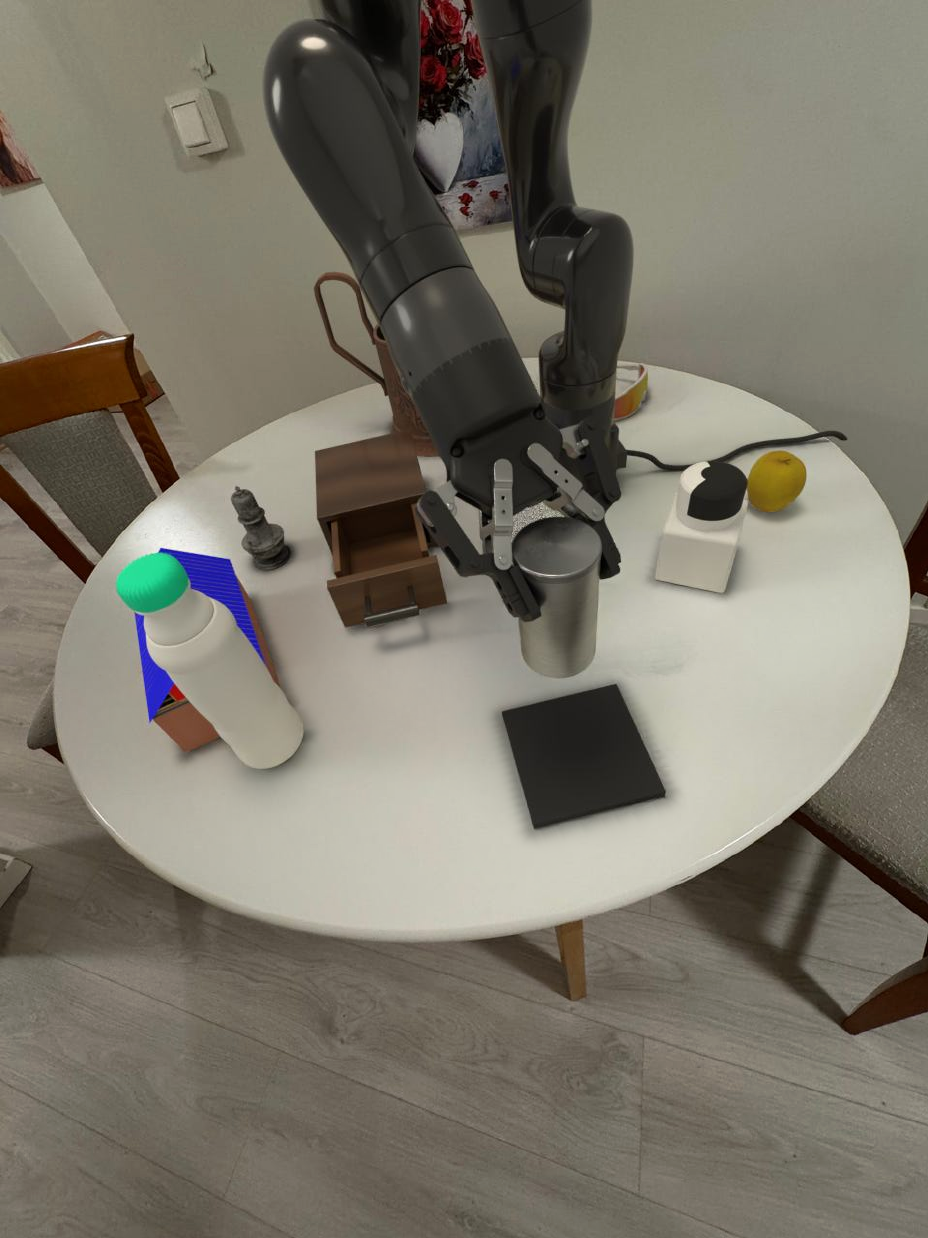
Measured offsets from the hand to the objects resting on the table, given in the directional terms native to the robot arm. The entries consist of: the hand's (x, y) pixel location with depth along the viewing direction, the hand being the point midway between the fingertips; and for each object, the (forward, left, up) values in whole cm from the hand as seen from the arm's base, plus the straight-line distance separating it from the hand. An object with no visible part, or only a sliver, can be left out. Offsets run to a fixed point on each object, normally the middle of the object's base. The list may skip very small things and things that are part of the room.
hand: (572, 596), depth 39 cm
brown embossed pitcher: (+4, -65, -22) cm, 69 cm away
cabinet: (+14, -42, -22) cm, 49 cm away
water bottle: (+29, -9, -22) cm, 38 cm away
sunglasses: (-25, -61, -22) cm, 69 cm away
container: (-22, -20, -22) cm, 37 cm away
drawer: (+14, -27, -21) cm, 37 cm away
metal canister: (+1, -2, -7) cm, 8 cm away
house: (+36, -21, -22) cm, 47 cm away
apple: (-35, -27, -22) cm, 49 cm away
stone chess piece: (+30, -40, -22) cm, 55 cm away
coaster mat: (-1, 0, -22) cm, 22 cm away
